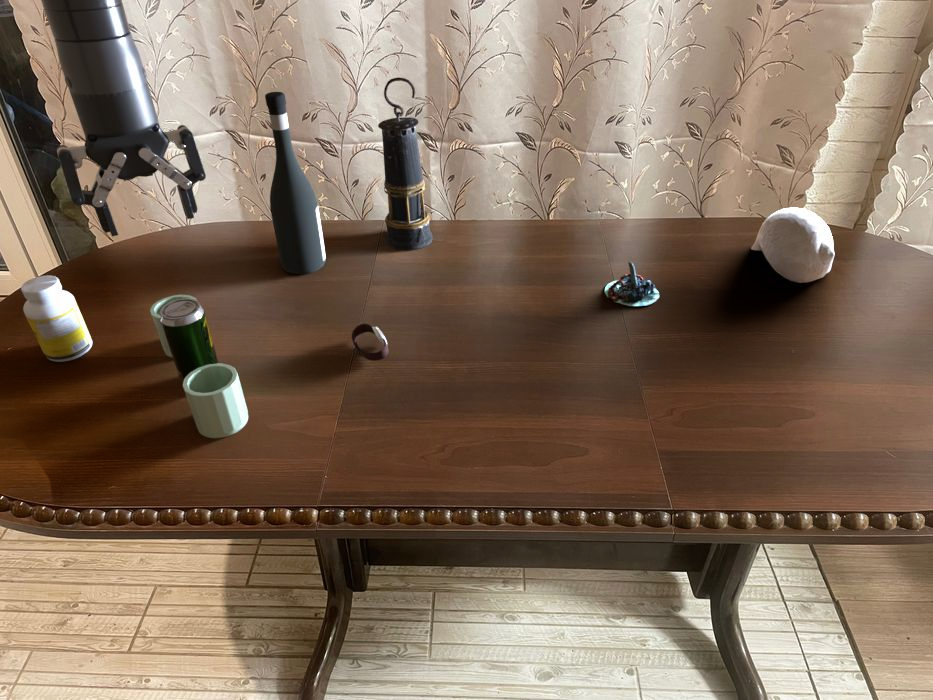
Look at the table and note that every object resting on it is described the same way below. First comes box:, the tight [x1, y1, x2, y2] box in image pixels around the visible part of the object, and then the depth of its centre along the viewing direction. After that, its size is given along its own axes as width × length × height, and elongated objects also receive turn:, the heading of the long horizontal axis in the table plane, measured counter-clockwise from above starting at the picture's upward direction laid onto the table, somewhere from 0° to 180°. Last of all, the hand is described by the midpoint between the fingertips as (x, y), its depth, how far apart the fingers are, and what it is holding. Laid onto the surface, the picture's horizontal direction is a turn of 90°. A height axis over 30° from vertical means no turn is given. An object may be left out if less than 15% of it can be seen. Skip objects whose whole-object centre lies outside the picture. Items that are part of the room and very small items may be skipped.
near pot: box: [182, 362, 249, 439], centre depth 83 cm, size 6×6×7 cm
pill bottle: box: [20, 275, 93, 363], centre depth 94 cm, size 6×6×12 cm
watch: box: [351, 323, 389, 362], centre depth 96 cm, size 8×5×4 cm, turn 33°
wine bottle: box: [264, 91, 327, 275], centre depth 109 cm, size 8×8×30 cm
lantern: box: [377, 77, 434, 251], centre depth 118 cm, size 9×9×30 cm
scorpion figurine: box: [604, 260, 660, 307], centre depth 109 cm, size 8×7×8 cm
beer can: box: [160, 299, 220, 385], centre depth 88 cm, size 5×5×12 cm
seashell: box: [750, 207, 835, 284], centre depth 115 cm, size 15×14×15 cm
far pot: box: [149, 294, 198, 358], centre depth 96 cm, size 6×6×7 cm
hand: (152, 224), depth 78 cm, fingers open, 8 cm apart
